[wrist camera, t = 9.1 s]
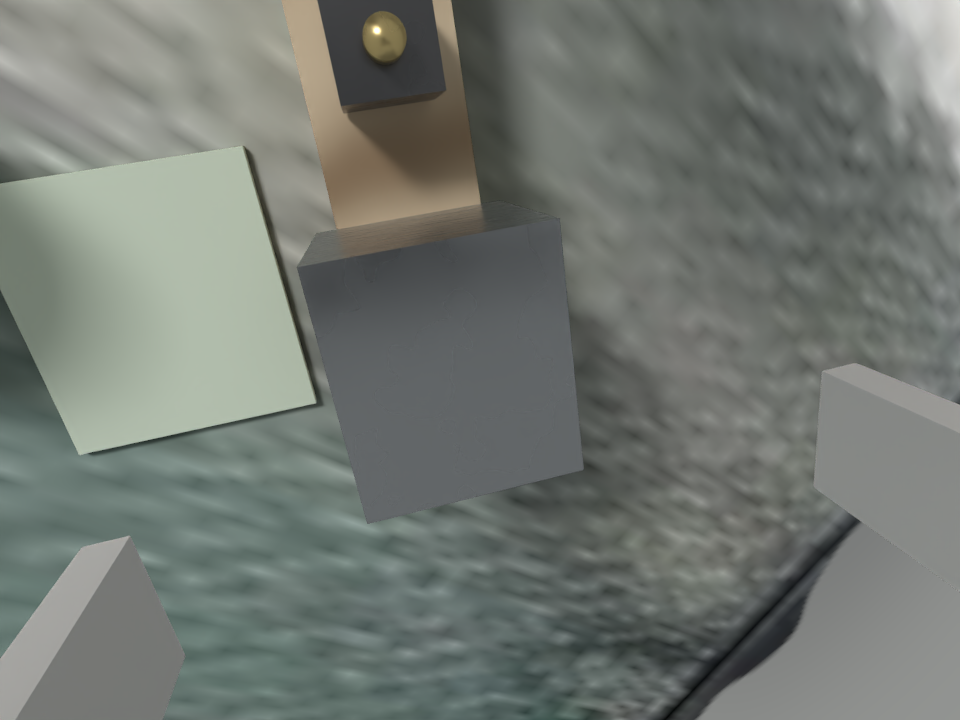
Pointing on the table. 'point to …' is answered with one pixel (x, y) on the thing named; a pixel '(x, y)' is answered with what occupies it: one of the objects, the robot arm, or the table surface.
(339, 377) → the gray cube on plate
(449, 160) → the long wooden block
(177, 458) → the table surface
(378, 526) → the table surface
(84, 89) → the table surface
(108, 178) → the mat
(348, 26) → the latch
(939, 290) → the table surface
